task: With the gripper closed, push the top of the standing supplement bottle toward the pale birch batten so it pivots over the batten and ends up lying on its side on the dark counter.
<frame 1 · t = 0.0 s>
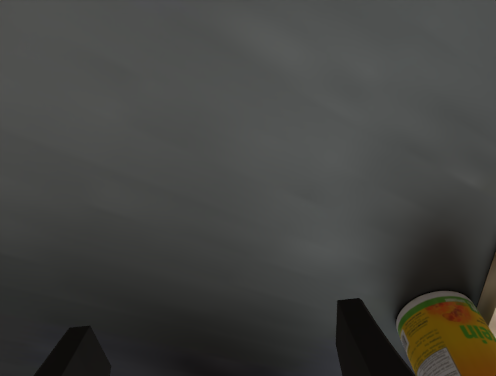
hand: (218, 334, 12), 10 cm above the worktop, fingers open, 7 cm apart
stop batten: (487, 313, 28), on the worktop
supplement bottle: (431, 312, 28), on the worktop
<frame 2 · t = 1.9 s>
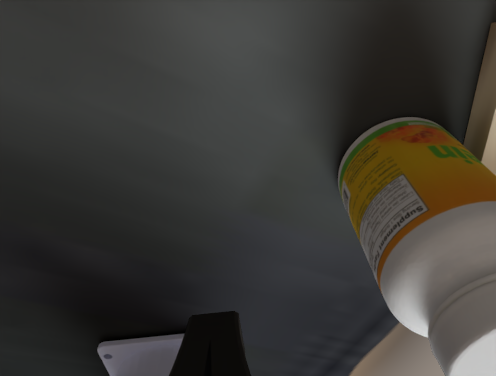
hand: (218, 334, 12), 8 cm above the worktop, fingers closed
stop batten: (476, 168, 18), on the worktop
supplement bottle: (392, 166, 18), on the worktop
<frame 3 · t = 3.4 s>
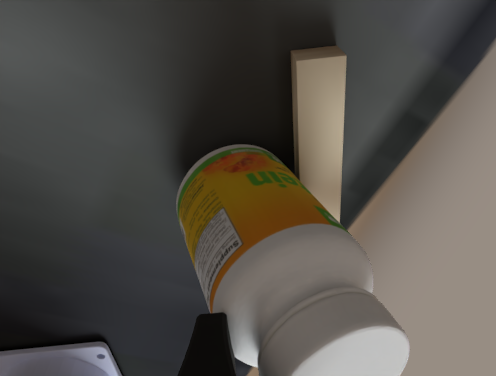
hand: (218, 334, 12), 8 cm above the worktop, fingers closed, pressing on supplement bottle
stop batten: (314, 187, 19), on the worktop
supplement bottle: (231, 193, 18), point 1 cm above the worktop, touching gripper, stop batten
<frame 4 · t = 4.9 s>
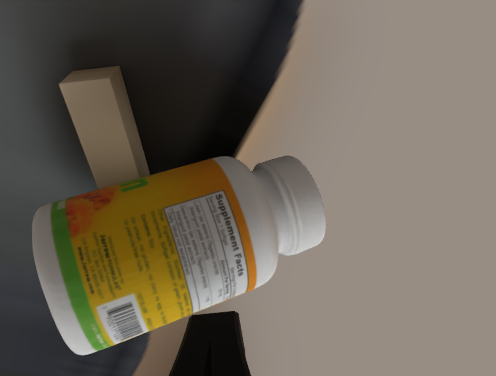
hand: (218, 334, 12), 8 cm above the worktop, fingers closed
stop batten: (139, 205, 18), on the worktop
supplement bottle: (51, 283, 14), point 5 cm above the worktop, touching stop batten
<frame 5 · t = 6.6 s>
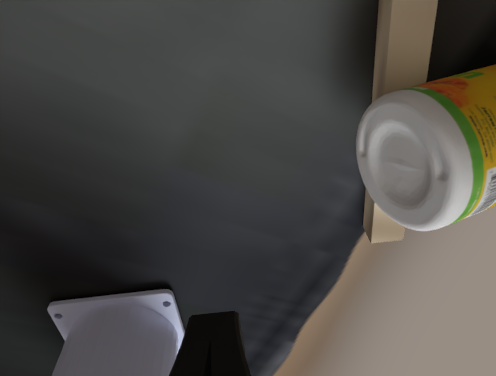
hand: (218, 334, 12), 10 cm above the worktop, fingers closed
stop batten: (388, 123, 20), on the worktop
supplement bottle: (391, 167, 15), point 5 cm above the worktop, touching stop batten
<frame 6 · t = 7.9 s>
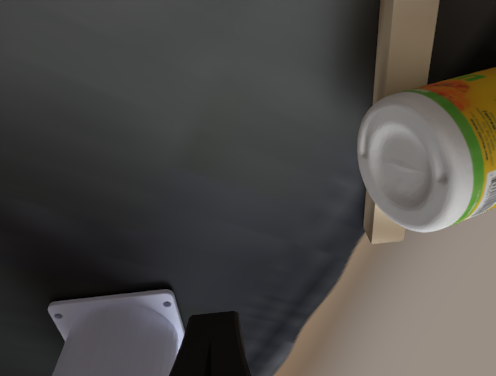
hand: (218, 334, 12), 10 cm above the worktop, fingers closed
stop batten: (388, 124, 20), on the worktop
supplement bottle: (392, 168, 15), point 5 cm above the worktop, touching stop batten
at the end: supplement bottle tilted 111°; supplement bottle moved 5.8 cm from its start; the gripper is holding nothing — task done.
